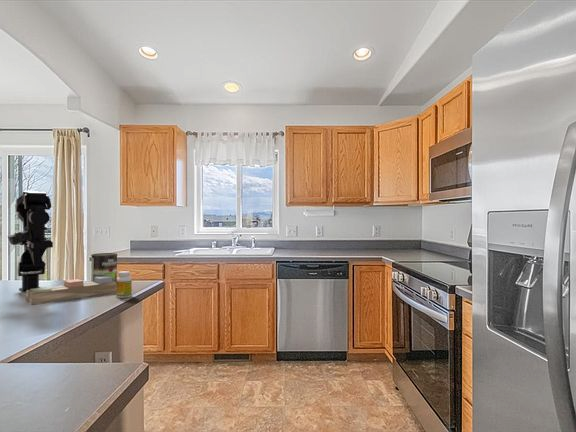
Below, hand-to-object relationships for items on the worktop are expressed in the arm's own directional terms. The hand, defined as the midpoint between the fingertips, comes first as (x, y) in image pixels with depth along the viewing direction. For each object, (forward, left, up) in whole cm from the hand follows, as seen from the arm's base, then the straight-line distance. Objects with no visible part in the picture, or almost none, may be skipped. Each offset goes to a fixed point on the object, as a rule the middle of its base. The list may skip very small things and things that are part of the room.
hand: (35, 265), depth 139 cm
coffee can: (-1, +26, -12) cm, 29 cm away
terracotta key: (+10, +10, -10) cm, 17 cm away
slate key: (+10, +21, -10) cm, 25 cm away
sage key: (+10, -1, -11) cm, 15 cm away
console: (+10, +10, -12) cm, 19 cm away
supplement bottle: (+24, +23, -12) cm, 35 cm away
